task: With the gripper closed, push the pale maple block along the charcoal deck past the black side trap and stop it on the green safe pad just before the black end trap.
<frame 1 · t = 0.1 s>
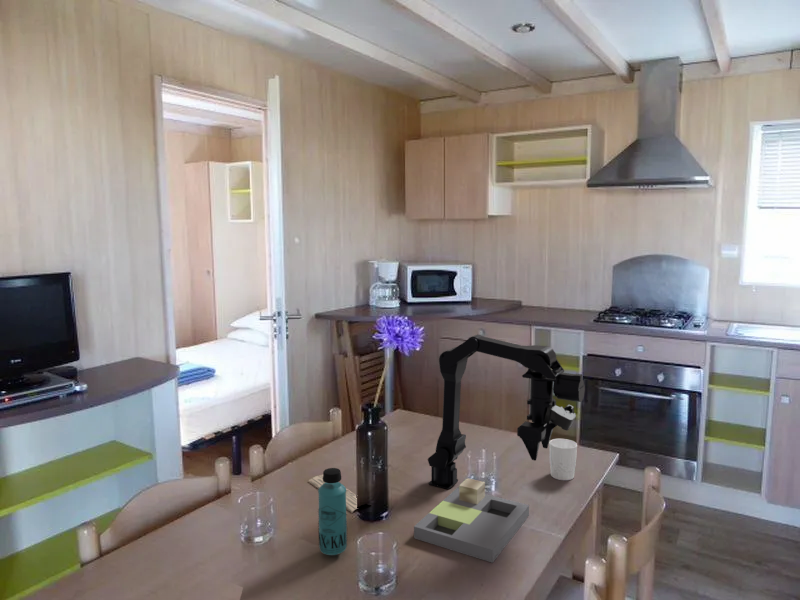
hand: (539, 453, 153), 15 cm above the table, tool pointing down, fingers open, 9 cm apart
white cup: (562, 476, 174), on the table
trap deck: (473, 526, 145), on the table
newspaper: (340, 496, 164), on the table
beverage bottle: (333, 554, 134), on the table
maple block: (472, 498, 154), point 3 cm above the table, touching trap deck
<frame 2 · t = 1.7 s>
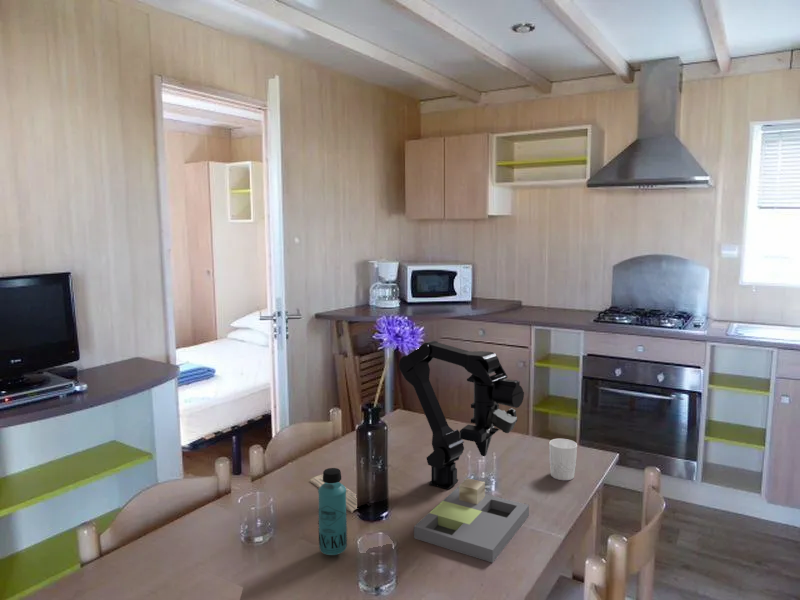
hand: (483, 455, 159), 12 cm above the table, tool pointing down, fingers closed
nothing on the table moved.
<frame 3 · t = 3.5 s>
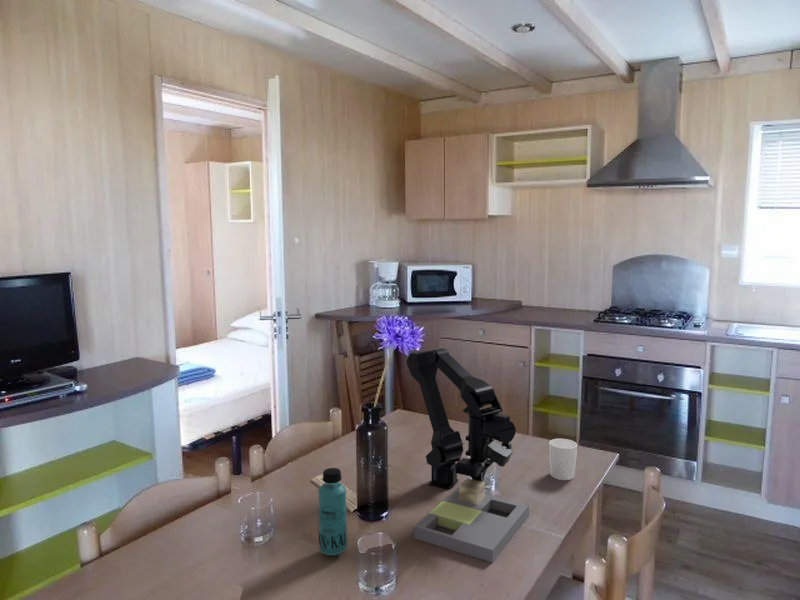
hand: (478, 488, 157), 4 cm above the table, tool pointing down, fingers closed
maple block: (472, 498, 154), point 3 cm above the table, touching gripper
everything else where it was.
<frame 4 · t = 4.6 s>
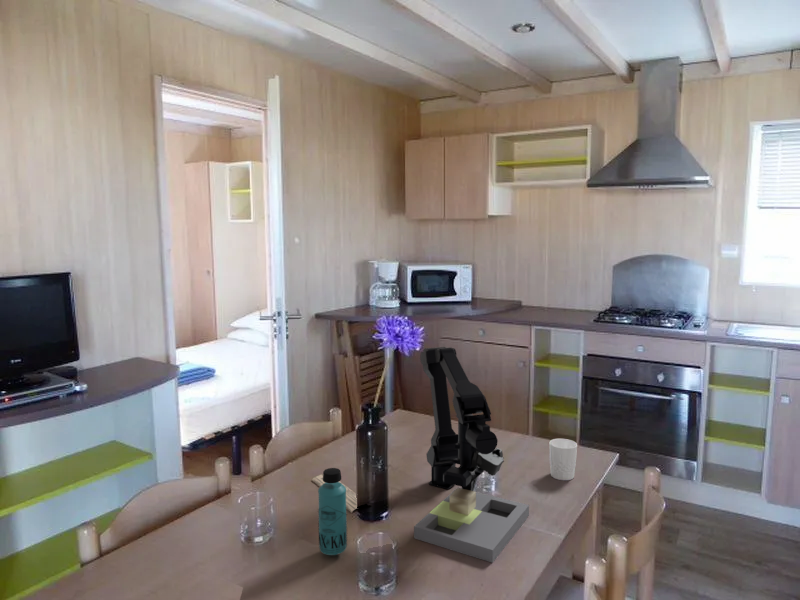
hand: (469, 497, 152), 4 cm above the table, tool pointing down, fingers closed
maple block: (462, 508, 148), point 3 cm above the table, touching gripper
everything else where it was.
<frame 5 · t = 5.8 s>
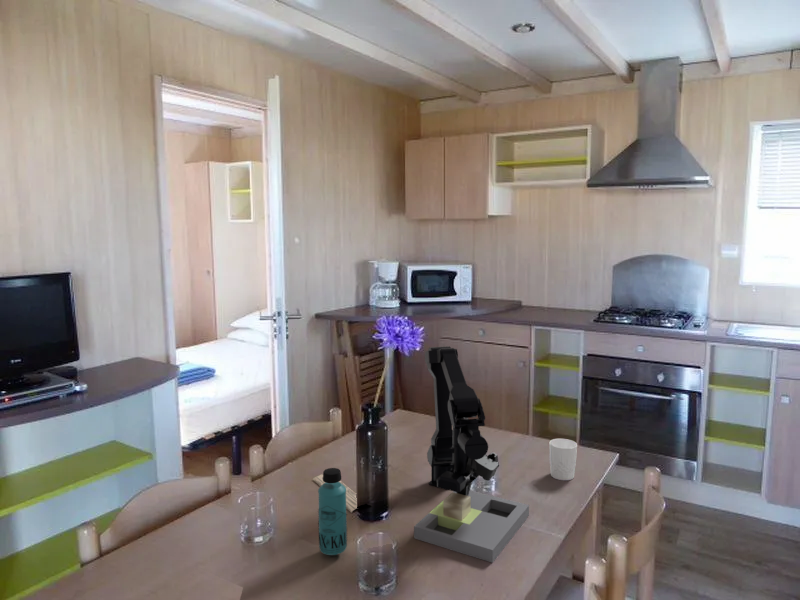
hand: (463, 502, 149), 4 cm above the table, tool pointing down, fingers closed
maple block: (457, 513, 146), point 3 cm above the table, touching gripper, trap deck
everything else where it was.
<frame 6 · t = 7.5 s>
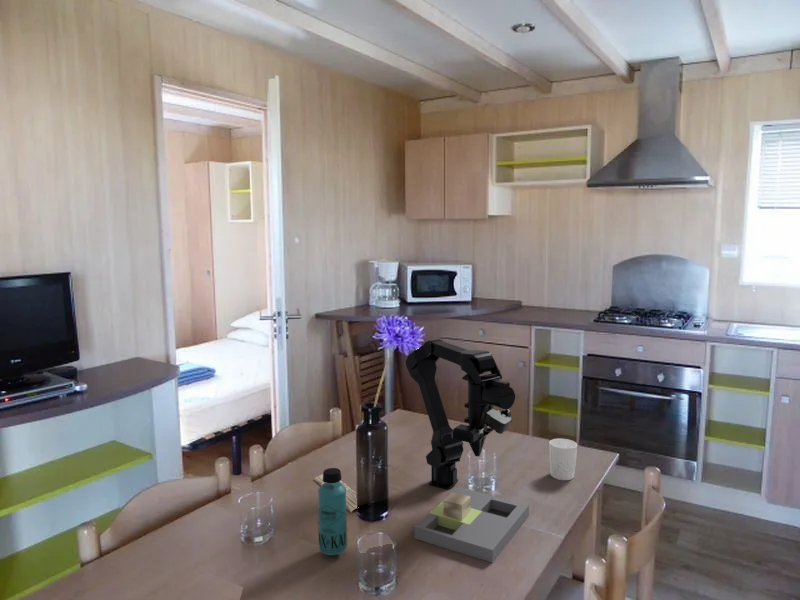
hand: (477, 455, 157), 13 cm above the table, tool pointing down, fingers closed
maple block: (457, 513, 146), point 3 cm above the table, touching trap deck
everything else where it was.
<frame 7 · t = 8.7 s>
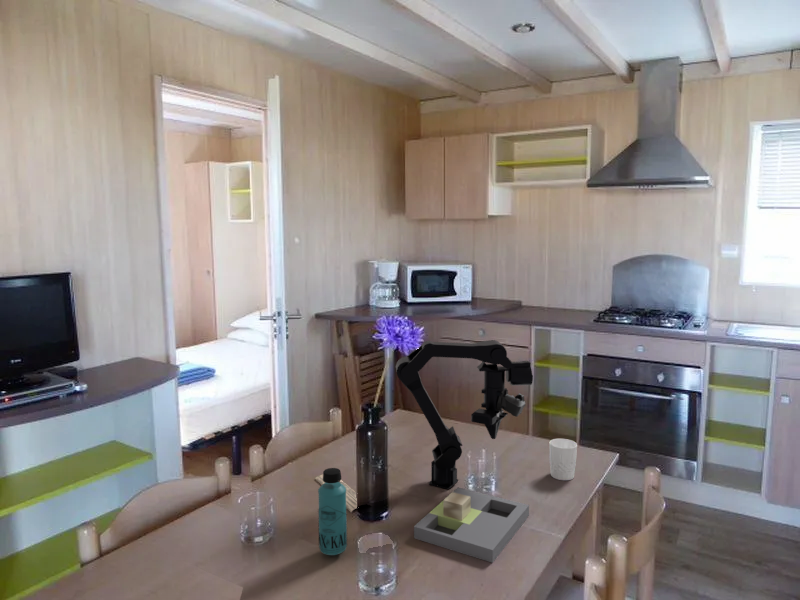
hand: (493, 438, 168), 13 cm above the table, tool pointing down, fingers closed
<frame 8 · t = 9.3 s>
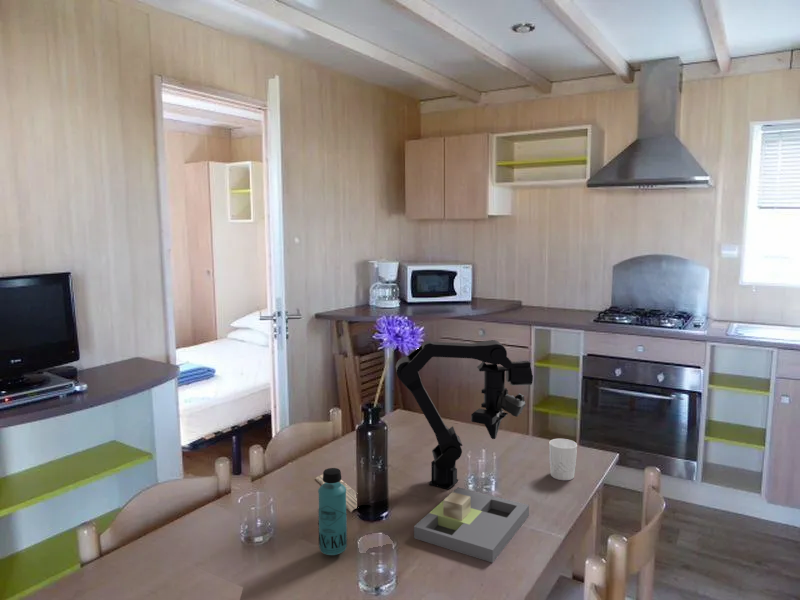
hand: (493, 438, 168), 13 cm above the table, tool pointing down, fingers closed
at the end: maple block inside the target area on the trap deck (0.6 cm from its centre), point 3.0 cm above the trap deck's base; maple block tilted 0°; the gripper is holding nothing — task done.
